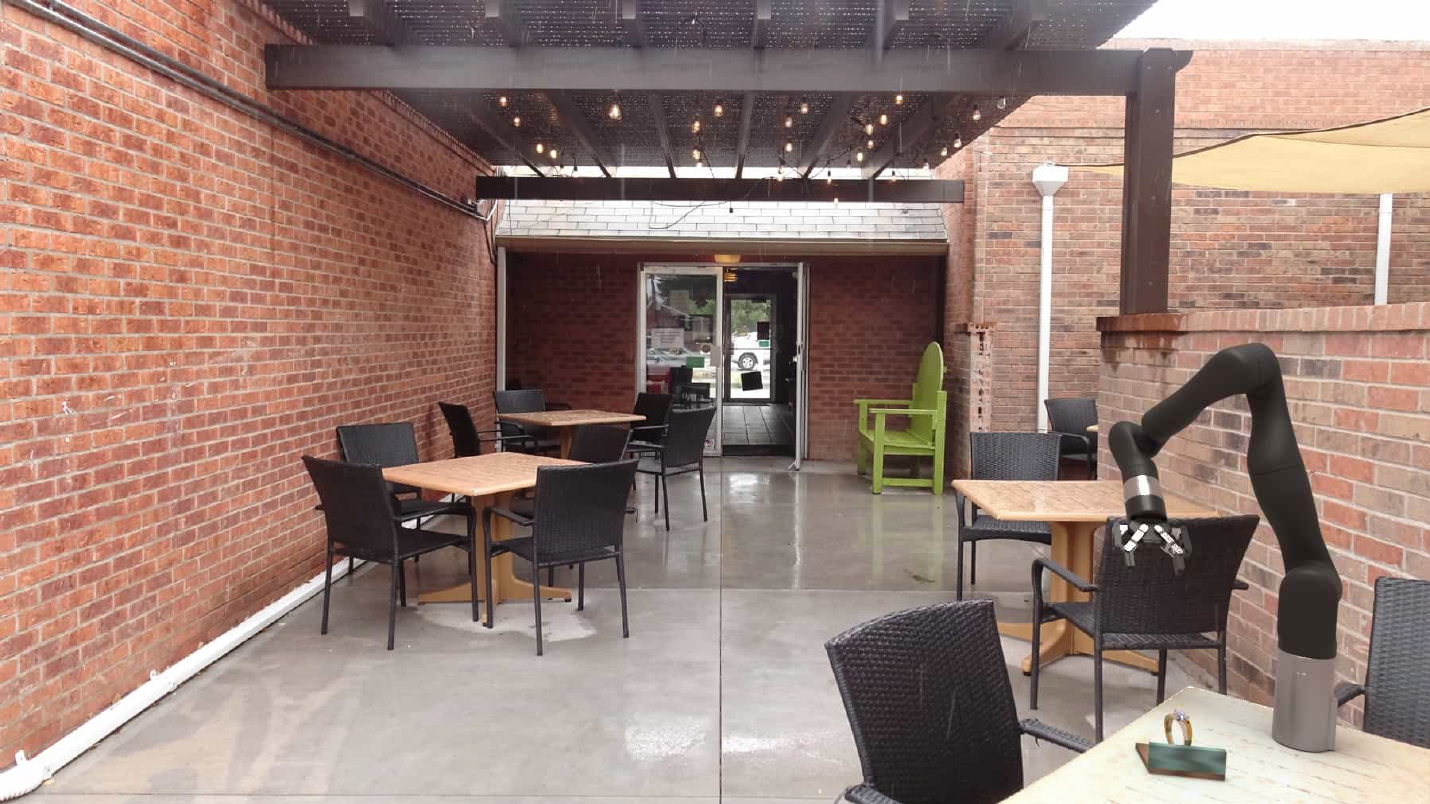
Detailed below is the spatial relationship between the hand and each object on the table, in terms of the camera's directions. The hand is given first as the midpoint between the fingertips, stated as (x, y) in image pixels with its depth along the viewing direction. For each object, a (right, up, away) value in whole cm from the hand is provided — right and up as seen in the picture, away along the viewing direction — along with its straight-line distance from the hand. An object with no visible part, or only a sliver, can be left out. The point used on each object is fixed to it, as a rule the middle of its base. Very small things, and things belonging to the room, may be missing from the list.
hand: (1155, 572), depth 187 cm
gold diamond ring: (-5, -29, -18) cm, 35 cm away
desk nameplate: (-5, -30, -19) cm, 36 cm away
